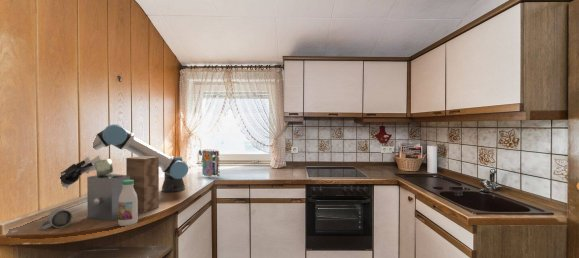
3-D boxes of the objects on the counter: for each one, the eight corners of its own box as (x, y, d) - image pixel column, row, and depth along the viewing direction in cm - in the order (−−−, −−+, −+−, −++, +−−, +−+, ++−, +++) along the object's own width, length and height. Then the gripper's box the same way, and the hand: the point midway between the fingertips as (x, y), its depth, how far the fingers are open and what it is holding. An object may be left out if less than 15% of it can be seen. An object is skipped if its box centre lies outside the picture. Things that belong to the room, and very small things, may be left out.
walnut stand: (141, 205, 157) (141, 156, 157) (158, 207, 154) (158, 156, 153) (126, 210, 148) (126, 157, 148) (144, 212, 144) (144, 158, 144)
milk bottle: (128, 219, 133) (128, 178, 133) (141, 221, 131) (141, 179, 130) (114, 225, 125) (114, 181, 125) (127, 227, 123) (127, 182, 123)
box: (195, 176, 248) (195, 149, 247) (201, 175, 253) (201, 148, 252) (214, 179, 233) (214, 150, 233) (219, 178, 238) (219, 150, 238)
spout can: (91, 178, 147) (89, 165, 147) (116, 171, 141) (114, 158, 142) (77, 180, 140) (75, 167, 141) (103, 174, 134) (101, 160, 135)
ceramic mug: (67, 221, 131) (66, 205, 130) (72, 225, 126) (72, 208, 126) (37, 228, 122) (36, 211, 122) (42, 232, 117) (41, 214, 117)
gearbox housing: (106, 211, 146) (106, 172, 145) (130, 214, 141) (129, 174, 140) (83, 218, 134) (83, 176, 134) (108, 222, 129) (107, 178, 129)
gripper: (86, 181, 155) (113, 162, 149) (51, 188, 138) (79, 167, 132) (81, 169, 156) (108, 150, 150) (46, 174, 140) (74, 153, 133)
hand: (95, 158), depth 141 cm, fingers open, 5 cm apart
